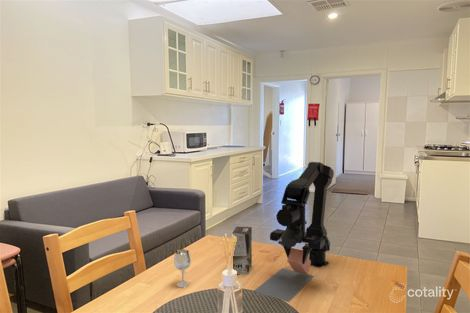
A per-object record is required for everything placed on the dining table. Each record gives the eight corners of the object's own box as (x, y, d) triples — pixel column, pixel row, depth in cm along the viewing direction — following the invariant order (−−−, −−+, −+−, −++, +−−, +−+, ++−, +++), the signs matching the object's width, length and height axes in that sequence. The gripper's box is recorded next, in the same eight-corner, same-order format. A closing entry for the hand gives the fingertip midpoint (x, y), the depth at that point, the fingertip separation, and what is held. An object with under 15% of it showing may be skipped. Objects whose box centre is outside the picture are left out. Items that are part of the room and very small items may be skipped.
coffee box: (248, 276, 127) (248, 233, 125) (231, 274, 128) (231, 232, 126) (252, 266, 135) (252, 226, 134) (236, 264, 137) (236, 225, 135)
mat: (282, 268, 132) (282, 267, 132) (314, 277, 125) (314, 275, 125) (253, 292, 114) (253, 291, 114) (288, 303, 107) (288, 301, 107)
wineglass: (193, 282, 122) (193, 249, 121) (186, 289, 116) (185, 255, 115) (179, 279, 124) (178, 248, 123) (171, 287, 118) (170, 253, 117)
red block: (298, 259, 128) (291, 247, 122) (311, 262, 125) (304, 250, 119) (294, 271, 125) (287, 260, 119) (307, 274, 122) (300, 263, 116)
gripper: (262, 220, 117) (262, 264, 118) (314, 229, 107) (313, 277, 108) (276, 213, 126) (276, 254, 128) (326, 220, 116) (325, 265, 117)
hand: (296, 262), depth 120 cm, fingers closed on red block, 5 cm apart
